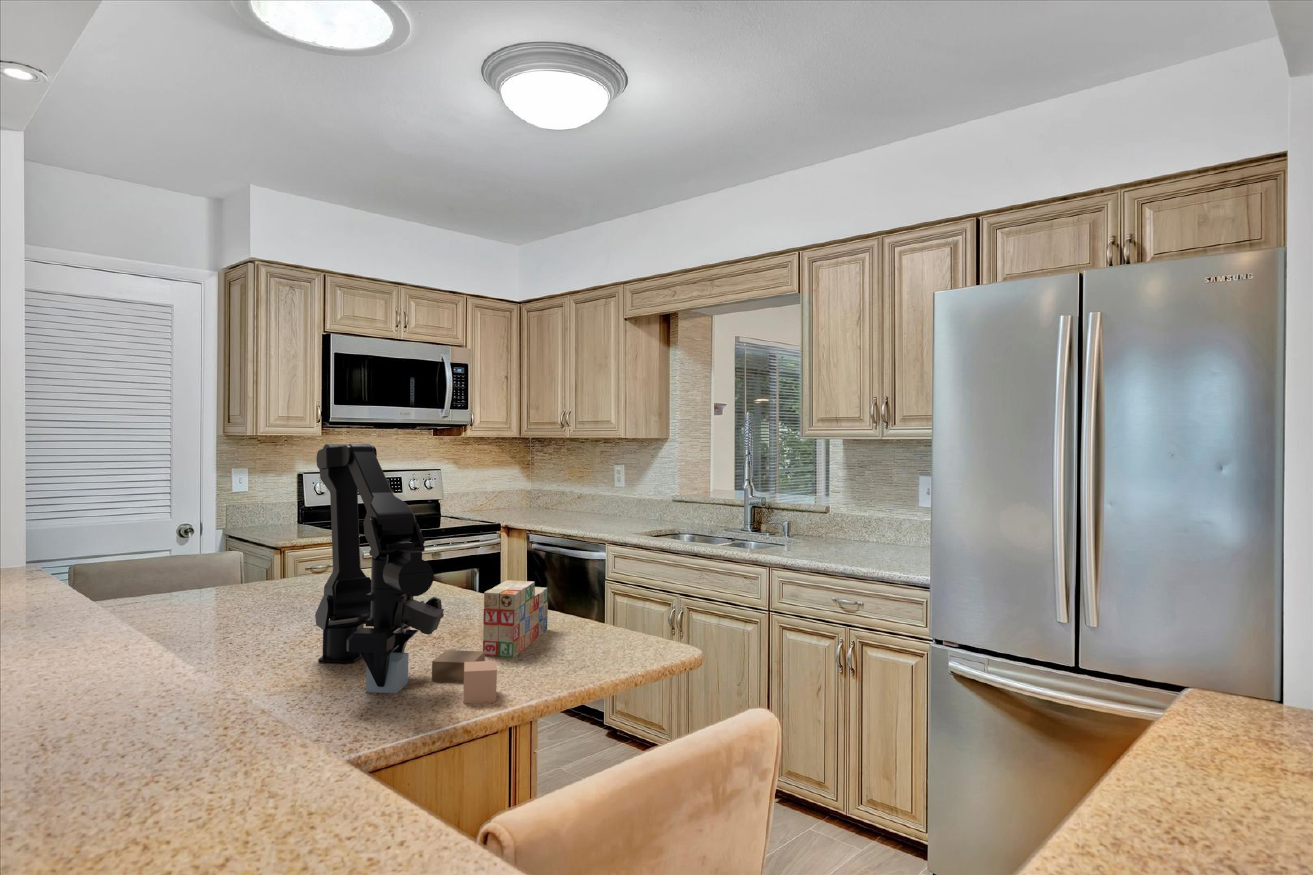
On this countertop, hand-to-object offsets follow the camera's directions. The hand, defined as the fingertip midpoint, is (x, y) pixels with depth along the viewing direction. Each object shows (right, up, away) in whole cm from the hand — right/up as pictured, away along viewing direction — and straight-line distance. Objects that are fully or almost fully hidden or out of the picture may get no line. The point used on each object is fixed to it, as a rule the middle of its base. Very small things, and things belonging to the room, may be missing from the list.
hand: (387, 681), depth 123 cm
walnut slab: (+10, -2, +7) cm, 12 cm away
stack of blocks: (+16, -2, +29) cm, 33 cm away
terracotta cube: (+16, -2, -3) cm, 16 cm away
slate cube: (0, -1, 0) cm, 1 cm away
